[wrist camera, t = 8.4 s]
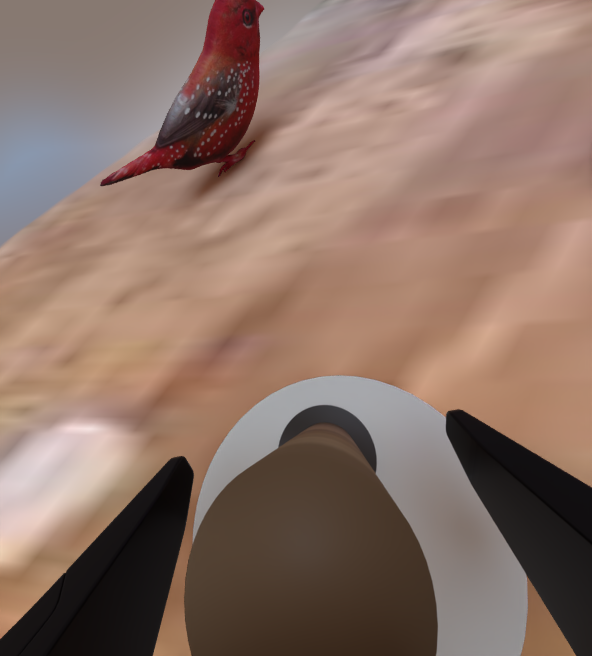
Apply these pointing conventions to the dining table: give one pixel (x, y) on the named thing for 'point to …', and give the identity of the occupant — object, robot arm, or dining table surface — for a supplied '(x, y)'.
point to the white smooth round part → (406, 503)
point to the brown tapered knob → (310, 555)
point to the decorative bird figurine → (210, 97)
